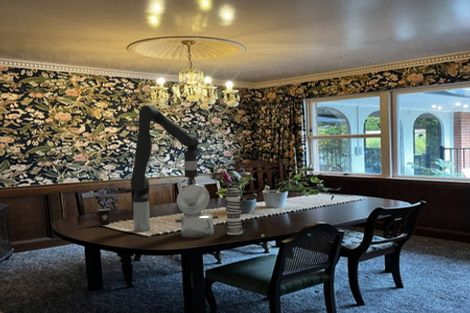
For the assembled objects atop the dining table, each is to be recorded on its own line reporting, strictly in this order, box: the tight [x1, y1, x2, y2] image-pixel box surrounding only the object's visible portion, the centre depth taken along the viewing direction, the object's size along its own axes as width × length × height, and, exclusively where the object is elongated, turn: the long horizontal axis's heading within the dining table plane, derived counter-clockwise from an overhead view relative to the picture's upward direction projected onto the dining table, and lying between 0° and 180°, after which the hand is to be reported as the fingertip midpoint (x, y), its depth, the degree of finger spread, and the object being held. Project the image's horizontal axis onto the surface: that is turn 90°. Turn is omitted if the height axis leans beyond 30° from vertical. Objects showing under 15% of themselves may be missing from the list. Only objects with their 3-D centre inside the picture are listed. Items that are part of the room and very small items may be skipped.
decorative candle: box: [224, 187, 243, 236], centre depth 242 cm, size 9×9×25 cm
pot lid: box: [176, 183, 211, 216], centre depth 251 cm, size 19×20×3 cm
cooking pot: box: [174, 213, 219, 239], centre depth 245 cm, size 24×18×10 cm
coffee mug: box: [91, 208, 112, 226], centre depth 290 cm, size 12×9×10 cm
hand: (192, 198), depth 253 cm, fingers closed
